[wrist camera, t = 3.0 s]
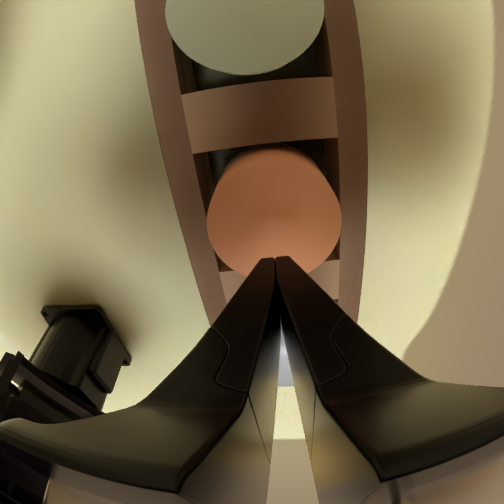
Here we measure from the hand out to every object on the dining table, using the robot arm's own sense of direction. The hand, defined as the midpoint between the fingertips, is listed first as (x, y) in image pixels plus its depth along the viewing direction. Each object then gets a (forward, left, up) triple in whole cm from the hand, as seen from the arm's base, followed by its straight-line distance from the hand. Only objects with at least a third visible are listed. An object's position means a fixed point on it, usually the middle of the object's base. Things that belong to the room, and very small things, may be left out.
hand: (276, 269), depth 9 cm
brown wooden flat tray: (0, 0, -7) cm, 7 cm away
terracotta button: (0, 0, -6) cm, 6 cm away
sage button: (0, +8, -5) cm, 10 cm away
